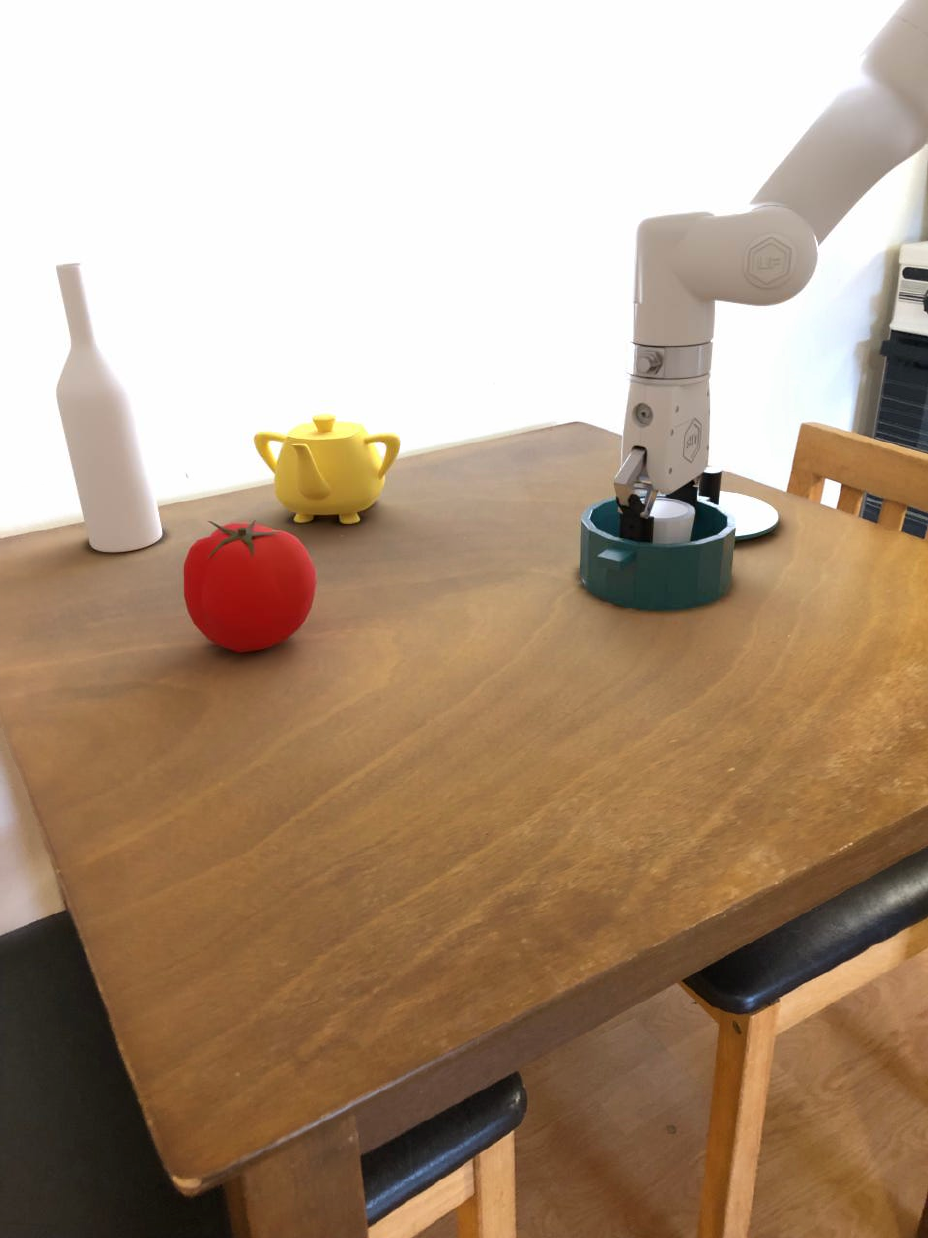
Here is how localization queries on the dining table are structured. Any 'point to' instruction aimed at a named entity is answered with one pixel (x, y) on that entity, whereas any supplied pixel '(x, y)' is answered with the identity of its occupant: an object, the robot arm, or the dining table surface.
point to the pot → (657, 560)
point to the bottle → (103, 432)
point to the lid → (738, 506)
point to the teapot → (328, 467)
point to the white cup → (672, 521)
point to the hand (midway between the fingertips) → (658, 537)
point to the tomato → (248, 586)
